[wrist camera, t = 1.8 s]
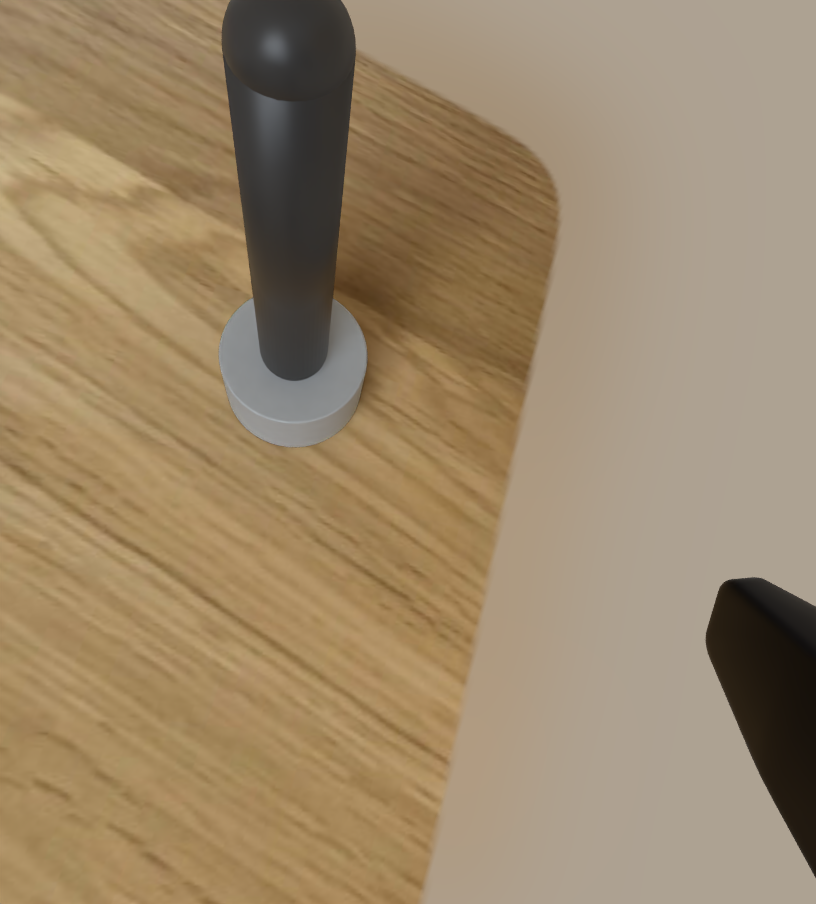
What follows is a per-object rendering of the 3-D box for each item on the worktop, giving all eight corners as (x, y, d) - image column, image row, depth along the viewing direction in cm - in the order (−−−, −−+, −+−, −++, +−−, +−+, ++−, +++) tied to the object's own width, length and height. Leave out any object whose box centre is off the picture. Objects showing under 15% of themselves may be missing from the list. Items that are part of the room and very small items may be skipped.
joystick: (334, 466, 22) (387, 174, 9) (205, 420, 22) (63, 51, 9) (378, 349, 24) (484, -64, 10) (256, 304, 23) (199, -176, 10)
